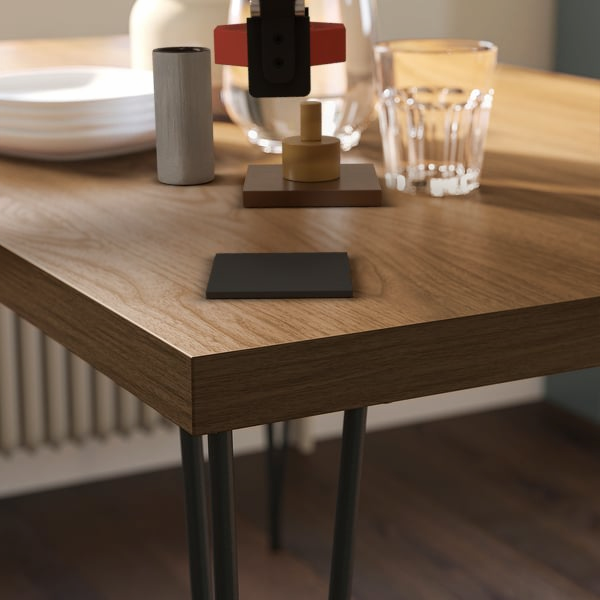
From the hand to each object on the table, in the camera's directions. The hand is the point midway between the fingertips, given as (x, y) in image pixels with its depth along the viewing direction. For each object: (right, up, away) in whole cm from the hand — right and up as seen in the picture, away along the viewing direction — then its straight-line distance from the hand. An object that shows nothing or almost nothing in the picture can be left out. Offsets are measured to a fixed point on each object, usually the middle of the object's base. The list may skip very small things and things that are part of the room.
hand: (281, 84), depth 64 cm
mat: (0, -10, +3) cm, 11 cm away
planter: (-8, -2, +30) cm, 31 cm away
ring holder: (+2, -4, +25) cm, 26 cm away
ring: (0, +1, 0) cm, 1 cm away
